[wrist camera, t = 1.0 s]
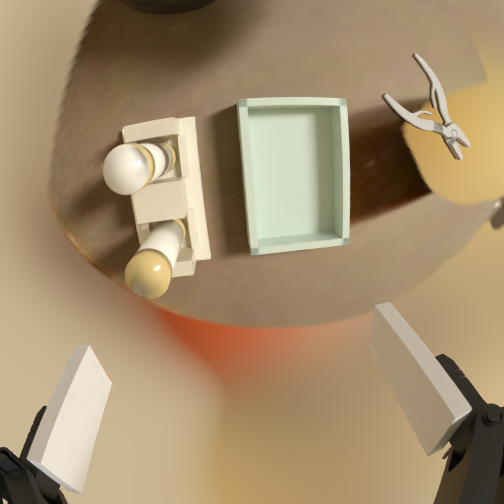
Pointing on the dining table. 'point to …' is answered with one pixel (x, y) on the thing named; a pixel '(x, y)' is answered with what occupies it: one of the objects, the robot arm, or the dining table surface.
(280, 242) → the parts tray
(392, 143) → the dining table surface
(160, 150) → the fuse
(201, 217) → the fuse holder
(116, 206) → the dining table surface
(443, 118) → the pliers
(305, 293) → the dining table surface
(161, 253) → the fuse
